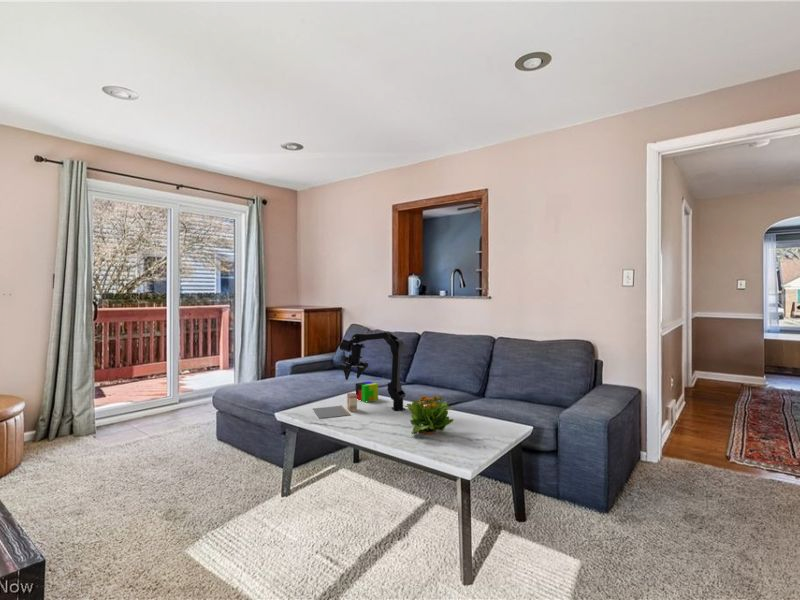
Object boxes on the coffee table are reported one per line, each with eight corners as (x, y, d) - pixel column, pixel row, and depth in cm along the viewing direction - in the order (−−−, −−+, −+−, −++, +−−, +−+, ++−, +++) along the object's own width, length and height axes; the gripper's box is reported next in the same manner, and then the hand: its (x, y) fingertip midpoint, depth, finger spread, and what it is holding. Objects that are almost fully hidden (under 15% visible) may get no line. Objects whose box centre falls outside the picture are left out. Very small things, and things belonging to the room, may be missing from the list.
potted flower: (394, 426, 208) (394, 391, 207) (436, 420, 217) (436, 387, 217) (417, 442, 185) (417, 403, 185) (462, 435, 195) (462, 397, 194)
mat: (350, 415, 227) (350, 414, 227) (319, 418, 221) (319, 417, 221) (341, 406, 246) (341, 405, 246) (312, 409, 239) (312, 408, 239)
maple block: (356, 411, 236) (356, 395, 236) (349, 411, 234) (349, 395, 234) (354, 408, 241) (353, 392, 241) (347, 409, 240) (347, 393, 240)
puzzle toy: (368, 396, 269) (368, 381, 269) (378, 399, 261) (378, 383, 261) (355, 399, 263) (355, 383, 262) (364, 402, 255) (364, 386, 255)
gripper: (357, 349, 262) (353, 373, 264) (335, 351, 248) (331, 377, 249) (370, 354, 255) (366, 379, 257) (348, 356, 241) (344, 382, 242)
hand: (352, 379), depth 251 cm, fingers open, 9 cm apart
